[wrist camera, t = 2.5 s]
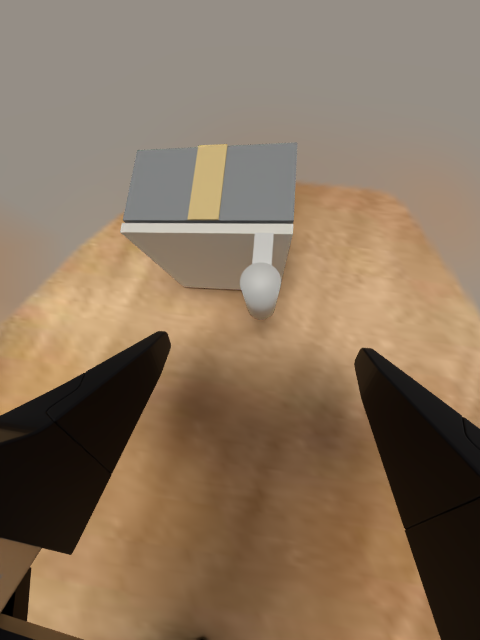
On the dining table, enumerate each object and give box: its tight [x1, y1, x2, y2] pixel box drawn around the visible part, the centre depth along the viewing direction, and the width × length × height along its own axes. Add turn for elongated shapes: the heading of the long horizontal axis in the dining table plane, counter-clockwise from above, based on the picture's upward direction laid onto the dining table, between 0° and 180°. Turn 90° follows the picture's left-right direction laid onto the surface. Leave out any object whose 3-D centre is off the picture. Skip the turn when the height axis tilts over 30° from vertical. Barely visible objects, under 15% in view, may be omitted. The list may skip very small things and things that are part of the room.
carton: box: [123, 143, 297, 224], centre depth 16 cm, size 5×10×10 cm, turn 85°
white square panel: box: [120, 223, 293, 320], centre depth 15 cm, size 4×10×10 cm, turn 85°
